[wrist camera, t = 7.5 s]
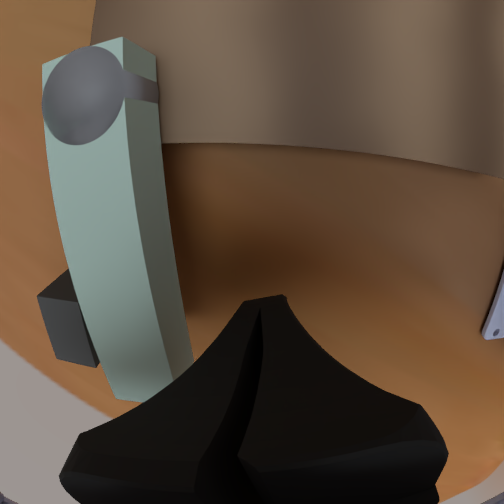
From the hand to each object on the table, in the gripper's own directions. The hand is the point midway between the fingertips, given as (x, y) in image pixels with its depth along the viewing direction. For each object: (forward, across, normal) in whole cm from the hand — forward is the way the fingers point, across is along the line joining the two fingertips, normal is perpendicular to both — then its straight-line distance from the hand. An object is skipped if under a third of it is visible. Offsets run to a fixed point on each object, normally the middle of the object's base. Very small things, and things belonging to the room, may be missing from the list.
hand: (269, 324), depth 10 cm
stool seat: (+4, -5, -13) cm, 14 cm away
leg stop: (+4, +8, -1) cm, 9 cm away
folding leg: (+1, +4, -4) cm, 5 cm away
